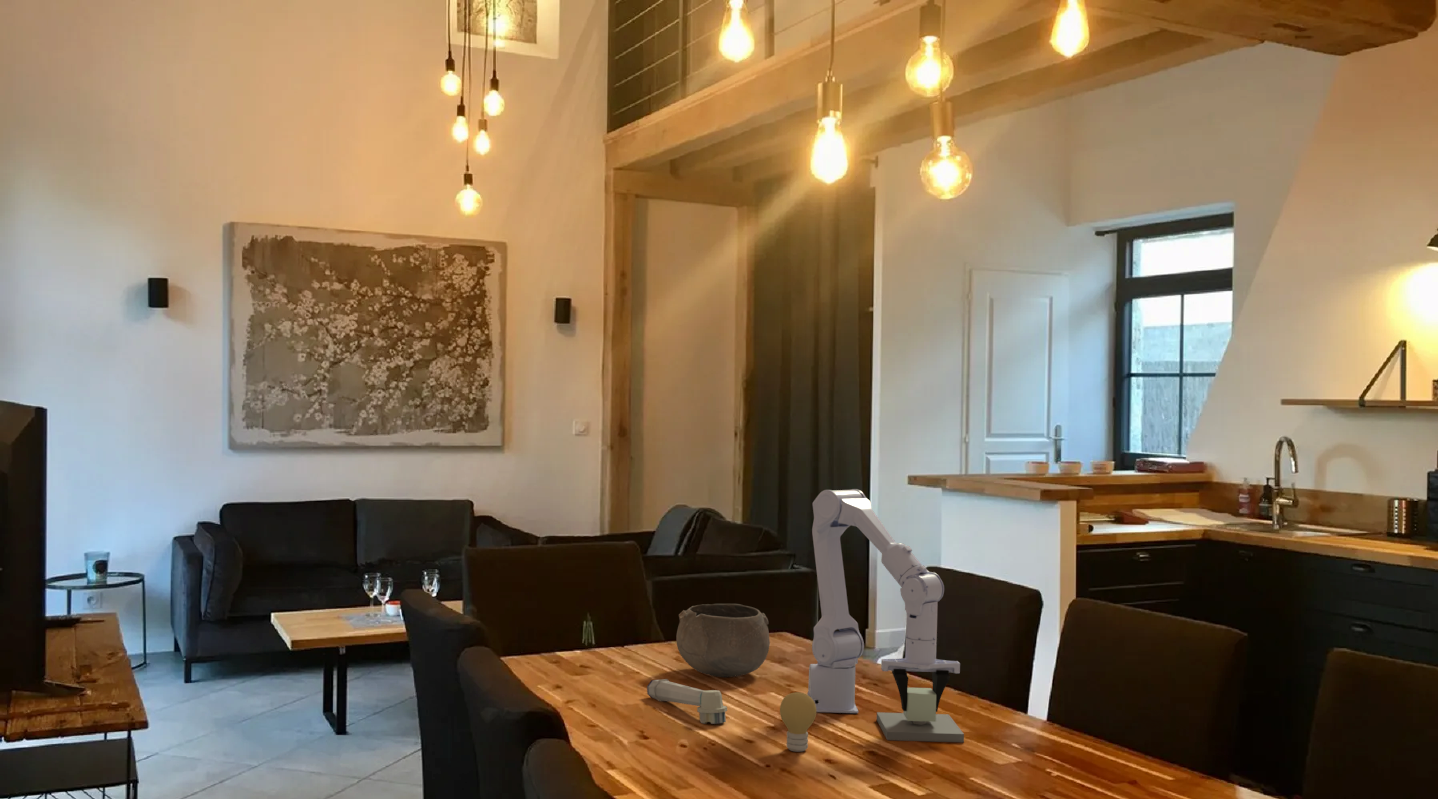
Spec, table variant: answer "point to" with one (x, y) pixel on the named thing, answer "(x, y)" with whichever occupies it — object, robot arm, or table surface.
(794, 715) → the light bulb
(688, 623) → the clay pot
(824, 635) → the robot arm
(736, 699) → the table surface
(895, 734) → the post board
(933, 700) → the pale green cube
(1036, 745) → the table surface
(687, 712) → the table surface
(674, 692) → the toothbrush head
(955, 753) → the table surface
